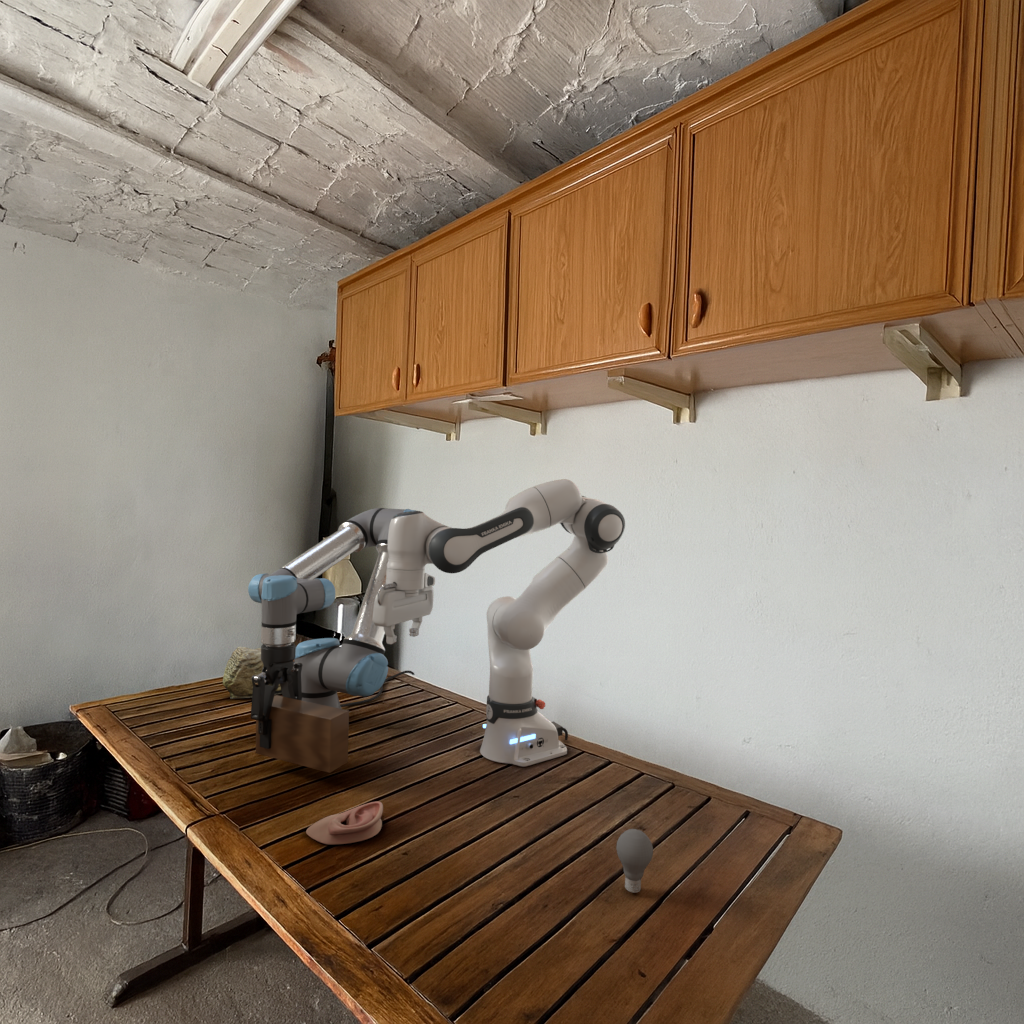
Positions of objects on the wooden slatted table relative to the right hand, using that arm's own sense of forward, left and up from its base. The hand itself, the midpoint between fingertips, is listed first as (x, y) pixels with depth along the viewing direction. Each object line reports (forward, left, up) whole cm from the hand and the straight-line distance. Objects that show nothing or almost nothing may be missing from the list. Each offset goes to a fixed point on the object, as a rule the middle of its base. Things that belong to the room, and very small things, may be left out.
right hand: (402, 639), depth 148 cm
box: (+21, -6, -27) cm, 35 cm away
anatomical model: (+17, +22, -31) cm, 42 cm away
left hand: (+26, -12, -25) cm, 37 cm away
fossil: (+25, -69, -31) cm, 80 cm away
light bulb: (-22, +59, -31) cm, 71 cm away
